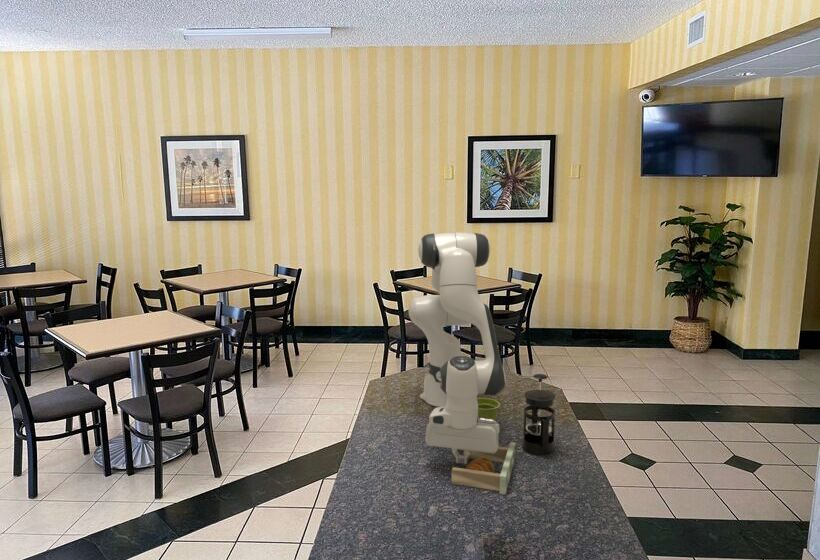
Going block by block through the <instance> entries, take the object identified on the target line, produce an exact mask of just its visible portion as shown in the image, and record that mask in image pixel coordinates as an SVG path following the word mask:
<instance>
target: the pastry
mask: <svg viewBox="0 0 820 560" xmlns="http://www.w3.org/2000/svg"><path fill="white" fill-rule="evenodd" d="M494 466H495V465H494V464H493V461H491V460H490V459H489V458H487V457H479V458H477V459H473V460H472V461H470V462H469V463H467V464H466V467H465V468H464V469H469V470H477V471H484V472H491V473H495V472H496V468H495V467H494Z"/></svg>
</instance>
